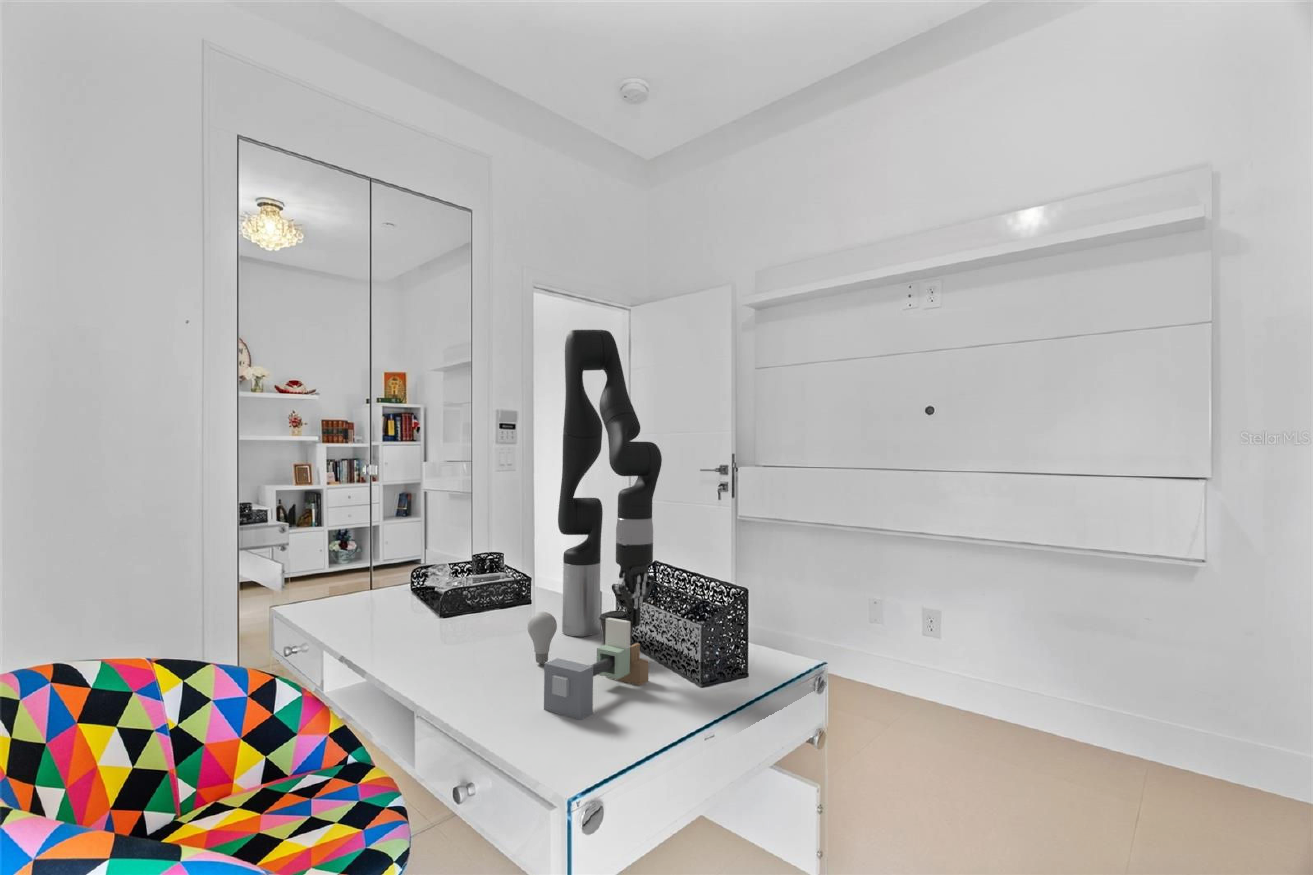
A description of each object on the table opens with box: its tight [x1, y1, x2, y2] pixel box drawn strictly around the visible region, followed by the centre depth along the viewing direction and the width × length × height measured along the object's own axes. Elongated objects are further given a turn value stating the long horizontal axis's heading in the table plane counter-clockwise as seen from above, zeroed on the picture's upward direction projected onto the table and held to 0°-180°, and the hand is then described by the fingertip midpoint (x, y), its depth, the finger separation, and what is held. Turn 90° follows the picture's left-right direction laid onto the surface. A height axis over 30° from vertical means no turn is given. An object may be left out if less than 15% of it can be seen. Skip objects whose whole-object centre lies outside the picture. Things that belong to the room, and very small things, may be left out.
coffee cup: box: [599, 610, 634, 646], centre depth 144 cm, size 8×8×10 cm
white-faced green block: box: [596, 618, 631, 680], centre depth 127 cm, size 4×5×10 cm
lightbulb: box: [527, 611, 558, 665], centre depth 140 cm, size 6×6×11 cm
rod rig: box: [543, 642, 650, 720], centre depth 123 cm, size 23×8×8 cm, turn 149°
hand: (633, 626), depth 133 cm, fingers closed
